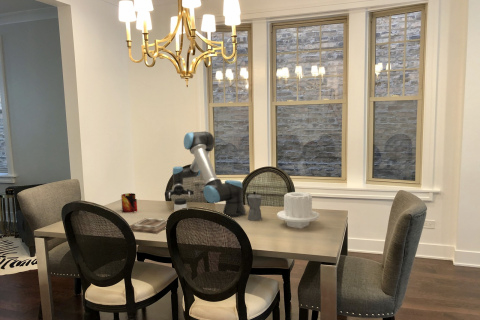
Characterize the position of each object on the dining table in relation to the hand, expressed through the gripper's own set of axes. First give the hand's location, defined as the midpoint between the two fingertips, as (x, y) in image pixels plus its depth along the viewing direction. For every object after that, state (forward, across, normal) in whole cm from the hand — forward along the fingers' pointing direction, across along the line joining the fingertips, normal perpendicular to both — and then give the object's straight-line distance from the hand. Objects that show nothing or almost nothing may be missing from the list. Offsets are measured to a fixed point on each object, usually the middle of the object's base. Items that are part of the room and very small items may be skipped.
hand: (179, 196), depth 262 cm
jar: (+10, 0, -12) cm, 16 cm away
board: (+27, +19, -12) cm, 35 cm away
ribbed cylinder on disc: (+48, -69, -11) cm, 84 cm away
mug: (-16, +34, -13) cm, 40 cm away
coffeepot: (+27, -46, -12) cm, 55 cm away
